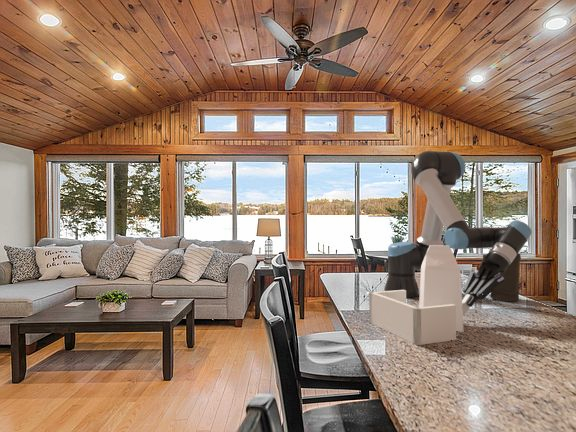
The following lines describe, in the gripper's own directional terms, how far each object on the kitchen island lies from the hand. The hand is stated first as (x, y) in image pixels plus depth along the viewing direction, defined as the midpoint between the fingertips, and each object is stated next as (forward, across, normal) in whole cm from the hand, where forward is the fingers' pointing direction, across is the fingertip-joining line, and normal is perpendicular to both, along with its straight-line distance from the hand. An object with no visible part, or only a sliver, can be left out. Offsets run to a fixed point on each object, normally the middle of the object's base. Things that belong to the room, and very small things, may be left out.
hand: (460, 312), depth 129 cm
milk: (+8, -1, -2) cm, 9 cm away
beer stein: (-28, -24, +34) cm, 50 cm away
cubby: (+17, 0, -11) cm, 20 cm away
